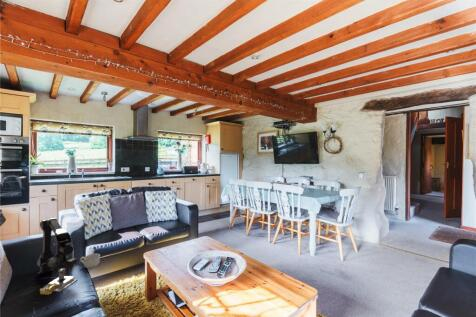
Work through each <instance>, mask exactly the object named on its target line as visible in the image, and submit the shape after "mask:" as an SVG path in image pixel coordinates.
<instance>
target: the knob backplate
mask: <svg viewBox="0 0 476 317" xmlns="http://www.w3.org/2000/svg"><path fill="white" fill-rule="evenodd" d="M76 280H77V279H75V276H71V275H69V276H68V275H64V281H63V282H59V276H58V277H57V278H54V279H53V280H52V281H50V282H49V283H47V285H45V286H43V287H42V288H40V289H39V294H40V295H46V296H47V295H48V296H50V295H51V294H53V292H55V293H61V292H62V291H64V290H65V289H66V288H68V287H70V286H71V285H73V283H75V282H77V281H76ZM49 294H50V295H49Z"/></svg>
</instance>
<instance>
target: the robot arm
mask: <svg viewBox="0 0 476 317" xmlns="http://www.w3.org/2000/svg"><path fill="white" fill-rule="evenodd" d="M39 227H40V229H41V231H42V232H43V233H42V234H43V235H42V251H41V253H40V254H39V257H38V259H37V261H36V264H37V266H38V267H39V272H37V274H38V275H47V274H49V273H50V272H53V274H54V275H56V274H57V273H58V268H59V265H61V264H65V269H66V276H68V275H69V274H70V273H71V271H72V268H73V267H74V266H75V264H77V263H78V258H69V256H68V255H71V254H72V253H73V251H74V247H73V245H71V243H72V237H71V234H70V233H69V232H68V231H67V230H66V229H63V228H62V227H61V224H60V223H59V222H58V218H57V217H52V218H48V219H42V220H40V222H39ZM52 232H53V234H54V237H53V240H54V243H55V245H56V253H54V252H53V251H52Z"/></svg>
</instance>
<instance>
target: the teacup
mask: <svg viewBox="0 0 476 317" xmlns="http://www.w3.org/2000/svg"><path fill="white" fill-rule="evenodd" d="M100 257H101V254H100V253H91V254H87V255H86V256H81V257H80V258H79V261H80V263H82V264H83V266H84V268H87V269H93V268H95V267H97V266H98V265H99V264H100V263H101V262H100V261H101V259H100Z"/></svg>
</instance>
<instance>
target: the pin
mask: <svg viewBox="0 0 476 317" xmlns="http://www.w3.org/2000/svg"><path fill="white" fill-rule="evenodd" d="M65 271H66V267H65V268H64V267H63V268H59V269H57V273H58V277H59V282H63V281H64V276H65Z"/></svg>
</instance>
